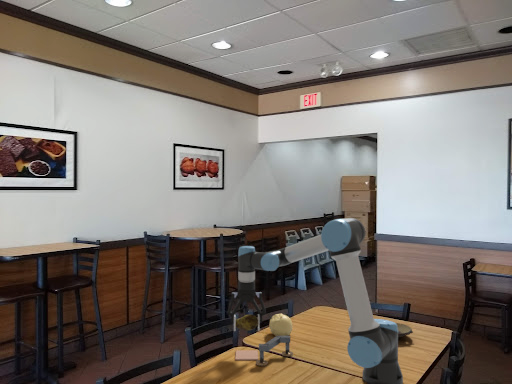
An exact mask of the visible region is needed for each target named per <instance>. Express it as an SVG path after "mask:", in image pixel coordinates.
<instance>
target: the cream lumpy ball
mask: <svg viewBox="0 0 512 384" xmlns="http://www.w3.org/2000/svg"><path fill="white" fill-rule="evenodd" d="M268 325H269V329H270V333H271V334H272V335H274V337H276V336H290V334H291V333H292V332H293V321H292V319H291V318H290V317H289V316H288V315H286V314H283V313H276V314H274V315H272V317H271V318H270V319H269V323H268Z"/></svg>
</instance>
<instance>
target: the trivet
mask: <svg viewBox="0 0 512 384" xmlns="http://www.w3.org/2000/svg"><path fill="white" fill-rule="evenodd" d="M234 360H235V361H257V360H259V349H256V350H253V349H251V350H250V349H249V350H247V349H246V350H245V349H243V350H241V349H240V350H239V349H238V350H235V359H234Z"/></svg>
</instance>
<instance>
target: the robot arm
mask: <svg viewBox="0 0 512 384" xmlns="http://www.w3.org/2000/svg"><path fill="white" fill-rule="evenodd" d="M365 238H366V228H365V225H364V224H363V223H362V222H361V220H359V219H357V218H353V217H348V218H347V217H346V218H335V219H333V220H330V221H328V222H326V224H325V225H324V226H323V227H322V230H321V233H320V234H319V235H316V236H313V237H310V238H307V239H305V240H302V241H300V242H296V243H293V244H292V245H287V246H286V247H283V248H280V249H276V250H271V251H265V252H262V251H261V252H259V251H256V248H255V246H253V245H243V246H239V248H238V254H237V255H238V256H237V257H238V258H237V259H238V272H237V273H238V274H237V275H238V276H237V277H238V278H237V279H238V285H237V287H238V288H237V292H234V291H232V292H231V299H230V303H229V306H228V309H227V312H226V313H227V315H228V316H230V317H231V319H230V321H231V324H233V331H234V332H236V330H237V329H236V328H237V327H236V319H237V316H236V312H237V311H238V309H239V307H240V306H241V304H242V302H244V303H246V302H249V303H250V302H251V303H252V305H253V307H254V308H255V310H256V311H257V313H258V314H257V319H258V325H257V331H258V332H260V331H261V328H260V327H261V325H260V324H262V323H263V316H264V315H267V310H266V307H265V304H264V300H263V294H262V292H263V291H262V292H261V291H260V292H256V270H261V271H267V272H269V271H270V272H274V271H276V270H277V269H278V268H279V267H285V266H287V265H290V264H292V263H295V262H298V261H301V260H304V259H308V258H310V257H313V256H316V255H319V254H322V253H325V252H329V254H330V257H331V259H333V260H334V261H335V262H336V263H335V264H336V267H337V271H338V276H339V280H340V284H341V287H342V293H343V296H344V300H345V305H346V309H347V313H348V317H349V322H350V325H349V327H348V328H347V330H348V331H347V332H348V334H349V341H348V343H347V346H346V347H347V348H346V349H347V354H348V356H349V358H350V359H351V360H352V362H353V363H355V364H356V365H357V366H359V367H360V368H363V369H362V380H363V381H364V382H365V383H366V384H403V383H404V377H403V373H402V369H401V366H400V364H399V337H398V326H397V324H396V323H397V322H394V321H391V320H388V319H381V318H374V315H373V311H372V310H373V309H372V308H371V307H372V305H371V302H370V298H369V294H368V290H367V286H366V282H365V278H364V274H363V270H362V266H361V262H360V257H359V255H360V254H361V252H362V249H361V244H362V243H363V242H364V241H365ZM256 296H257V298H258V299H259V303H260V306H261V308H260V307H259V305H258V304H257V302H256V300H255V297H256ZM237 297H238V298H239V299H238V301H237V303H236V305H235V306H234V308H233V305H234V302H235V299H236V298H237ZM232 308H233V310H232ZM261 309H262V310H261Z"/></svg>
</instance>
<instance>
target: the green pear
mask: <svg viewBox="0 0 512 384" xmlns="http://www.w3.org/2000/svg"><path fill="white" fill-rule="evenodd" d="M236 328H237V329H238V330H239V329H240V330H243V331H252V330H255V329H256V328H258V316H256V315H254V314H245V315H244V316H242V317H239V318H236Z"/></svg>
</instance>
